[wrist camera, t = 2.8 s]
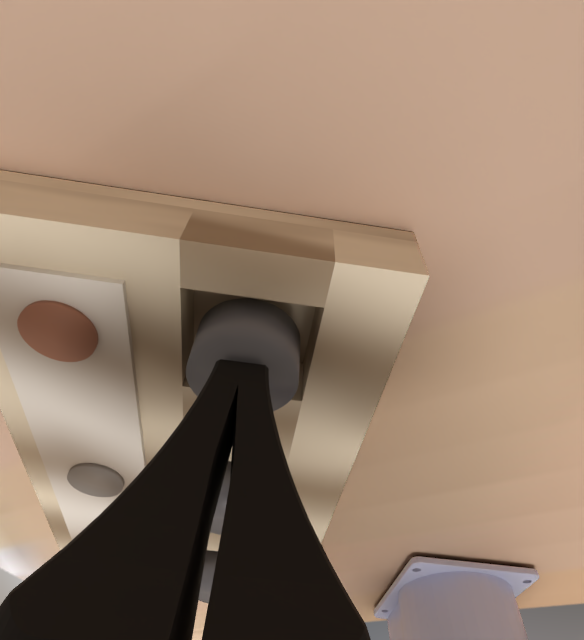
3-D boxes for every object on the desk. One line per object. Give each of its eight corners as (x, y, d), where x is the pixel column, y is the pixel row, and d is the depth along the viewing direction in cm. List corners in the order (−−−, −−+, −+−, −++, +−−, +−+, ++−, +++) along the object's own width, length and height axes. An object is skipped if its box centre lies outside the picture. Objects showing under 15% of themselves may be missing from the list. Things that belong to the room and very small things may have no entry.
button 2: (252, 573, 25) (248, 607, 24) (195, 567, 25) (188, 602, 23) (257, 548, 23) (253, 584, 22) (195, 542, 23) (188, 578, 21)
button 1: (292, 380, 15) (290, 421, 14) (197, 368, 15) (186, 408, 13) (308, 306, 13) (307, 345, 12) (198, 290, 13) (185, 328, 11)
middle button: (267, 501, 20) (263, 539, 19) (196, 493, 20) (187, 531, 18) (275, 461, 18) (272, 501, 17) (196, 451, 18) (187, 491, 16)
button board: (298, 558, 28) (297, 609, 26) (88, 536, 27) (69, 586, 25) (413, 232, 13) (433, 284, 11) (-29, 165, 13) (-100, 207, 10)
